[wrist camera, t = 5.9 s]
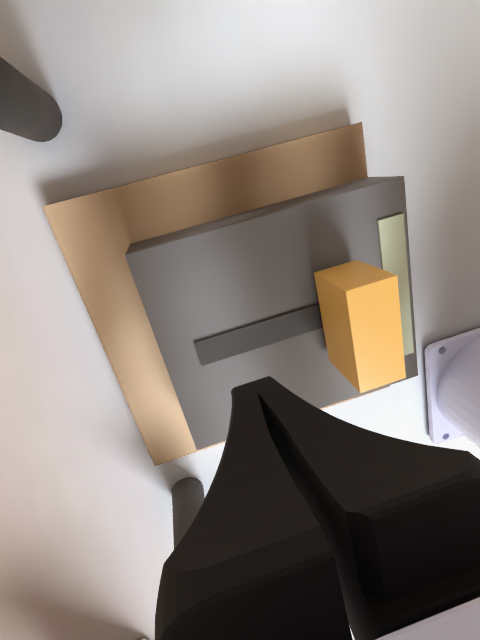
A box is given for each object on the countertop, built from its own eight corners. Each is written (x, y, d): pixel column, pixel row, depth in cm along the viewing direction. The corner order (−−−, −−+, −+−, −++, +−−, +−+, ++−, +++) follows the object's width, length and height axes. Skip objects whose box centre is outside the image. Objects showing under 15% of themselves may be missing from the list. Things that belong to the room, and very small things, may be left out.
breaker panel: (351, 125, 18) (400, 110, 15) (380, 378, 24) (421, 414, 20) (48, 205, 17) (16, 211, 13) (155, 454, 23) (154, 508, 19)
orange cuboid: (356, 259, 16) (397, 275, 13) (367, 347, 18) (405, 377, 15) (313, 272, 16) (345, 291, 13) (329, 360, 18) (360, 393, 15)
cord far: (198, 473, 24) (209, 561, 18) (206, 496, 25) (220, 586, 19) (167, 484, 24) (170, 576, 18) (177, 506, 24) (182, 601, 19)
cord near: (50, 83, 16) (-11, 29, 10) (69, 135, 16) (23, 111, 11) (1, 94, 15) (-89, 45, 10) (23, 147, 16) (-48, 128, 11)
